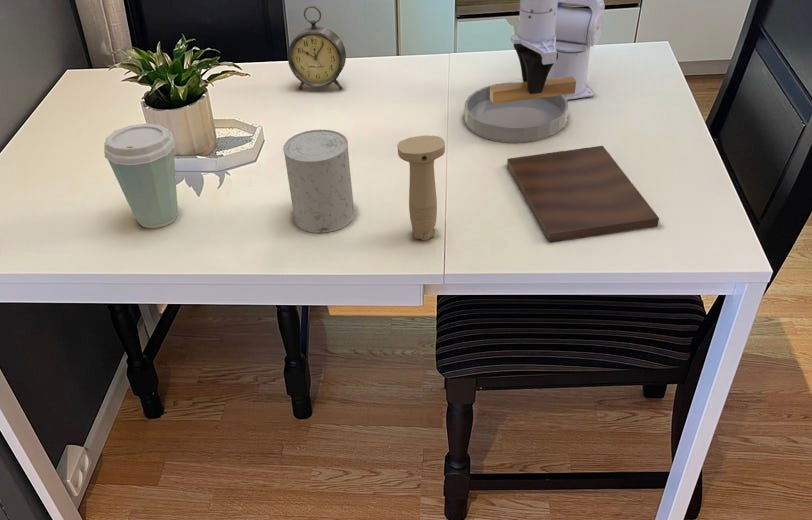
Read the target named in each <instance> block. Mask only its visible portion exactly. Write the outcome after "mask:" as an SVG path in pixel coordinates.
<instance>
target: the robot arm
mask: <svg viewBox="0 0 812 520" xmlns="http://www.w3.org/2000/svg"><path fill="white" fill-rule="evenodd" d="M564 4H570V5H581V6H586V7H589V8H586V7H575V6H567V5H564ZM605 8H606V6H605V2H604V0H519V15H518V16H519V17H518V18H519V19H517V30H516V31H517V32H516V33H517V34H513V35H511V36H510V42H511V43H512V44H513V48H514V50H515V52H516V55H517V58H518V61H519V67H520V72H521V77H522V82H527V87H528V91H529V94H537V93H542V91H543V88H544V85H545V82H546V79H552V78H560V77H567V76H572V77H573V78H574V79H575V80H576V88H575V93H574V94H566V95H564V96H565V98H566V99H567V101H569V100H574V99H575V100H576V99H583V98H589V97H590V98H591V97H593V96H594V93H593V91H592V89H590V88H589V87H588V85H587V79H588V70H589V62H590V53H591V48H593V47H594V46H595V45H596V44H597V43H598V42H599V40H600V38H601V35H602V32H603V28H604V13H605Z"/></svg>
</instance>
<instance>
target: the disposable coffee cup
mask: <svg viewBox="0 0 812 520" xmlns="http://www.w3.org/2000/svg"><path fill="white" fill-rule="evenodd" d="M103 144H104V145H103V147H104V148H103V153H104V158H105V159H107V161H108V163H109V165H110V167H111V170H112V171H113V174H114V176H115V178H116V181H117V182H118V184H119V186H120V187H119V188H120V189H121V191H122V193H123V195H124V197H125V199H126V202H127V203H128V206H129V208H130V210H131V212H132V214H133V216H134V219H135V221H137V223H138V224H139V225H140V226H142V227H143V228H146V229H159V228H164V227H166V226H168V225H171V224H172V223H174V221H175V220H176V219H177V217H178V213H179V208H178V195H177V194H178V193H177V191H178V190H177V178H176V163H175V151H174V150H175V149H174V148H175V147H176V140H175V136H174V134H173V132H172V131H171V130H169V128H166V127H165V126H162V125H161V124H156V123H155V124H154V123H139V124H132V125H128V126H125V127H122V128H119V129H116V130H114V131H113V132H111V134H109V135H108V136H106V138H105V142H104V143H103Z"/></svg>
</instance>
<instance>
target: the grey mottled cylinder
mask: <svg viewBox="0 0 812 520" xmlns="http://www.w3.org/2000/svg"><path fill="white" fill-rule="evenodd" d="M282 151H283V154H284V162H285V167H286V173H287V180H288V186H289V193H290V199H291V200H290V201H291V207H292V214H293V221H294V223H295V225H296V226H297V227H298V228H299V229H301V230H303V231H304V232H307V233H312V234H313V233H314V234H327V233H333V232H335V231H339V230H341V229H343V228H345V227H347V226H348V225H349V224H351V223H352V221H353V220H354V218H355V215H356V213H355V207H354V196H353V185H352V175H351V166H350V156H349V155H350V154H349V140H348V139H347V137H346V136H345V135H344V134H343V133H342V132H339V131H337V130H332V129H311V130H306V131H302V132H299V133H297V134H295V135H293V136H290V137H289V138H288V139H287V140H286V141H285V142H284V145H283V147H282Z"/></svg>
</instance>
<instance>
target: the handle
mask: <svg viewBox="0 0 812 520" xmlns="http://www.w3.org/2000/svg"><path fill="white" fill-rule="evenodd" d="M445 151H446V142H445V140H444V139H443V137H441V136H438V135H437V136H436V135H417V136H411V137H406V138H405V139H402V140H400V141H399V142H398V143H397V156H398V157H399V158H400V159H401V161H405V162H408V163H409V165H408V166H409V187H408V188H409V189H408V210H409V219H410V223H411V229H412V233H413V238H414V239H416V240H422V241H423V242H424V241H425V242H426V241H429V239H431V238H434V236H435V235H436V228H435V227H436V223H437V218H438V217H437V215H438V199H437V197H438V196H437V189H436V188H437V187H436V177H435V176H436V175H435V161H436V160H437V159H439V158H441V157H443V156H444V154H445Z"/></svg>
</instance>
